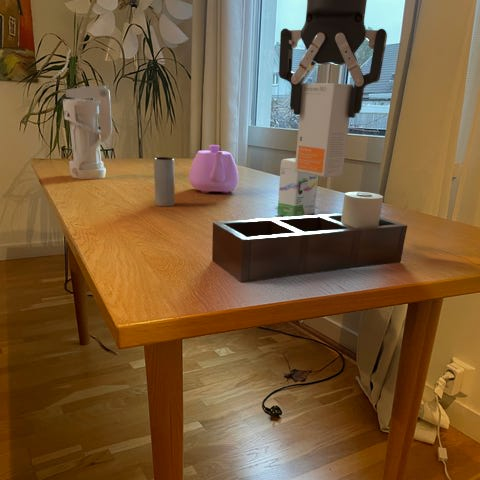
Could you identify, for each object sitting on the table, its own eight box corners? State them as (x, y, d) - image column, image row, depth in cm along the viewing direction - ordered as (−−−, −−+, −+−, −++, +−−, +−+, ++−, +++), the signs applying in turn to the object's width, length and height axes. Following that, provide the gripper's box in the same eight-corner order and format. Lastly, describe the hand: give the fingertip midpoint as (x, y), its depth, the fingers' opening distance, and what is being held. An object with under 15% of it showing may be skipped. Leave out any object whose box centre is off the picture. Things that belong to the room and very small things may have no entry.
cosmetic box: (293, 172, 71) (300, 82, 66) (312, 170, 73) (321, 84, 68) (324, 178, 67) (334, 82, 62) (343, 176, 69) (355, 84, 64)
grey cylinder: (154, 206, 109) (152, 159, 104) (156, 202, 113) (155, 156, 109) (173, 206, 109) (173, 159, 105) (175, 202, 113) (174, 157, 109)
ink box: (294, 218, 103) (299, 161, 98) (276, 214, 106) (280, 159, 101) (315, 213, 109) (321, 159, 104) (298, 209, 112) (302, 157, 107)
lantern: (68, 179, 138) (58, 83, 128) (72, 173, 148) (63, 84, 137) (114, 179, 141) (108, 85, 130) (115, 174, 150) (109, 86, 140)
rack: (359, 245, 85) (364, 211, 83) (400, 262, 77) (407, 225, 75) (211, 260, 74) (212, 222, 71) (240, 282, 65) (242, 239, 63)
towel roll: (374, 253, 81) (384, 193, 77) (371, 263, 76) (382, 199, 71) (339, 249, 83) (347, 189, 78) (334, 258, 77) (342, 195, 73)
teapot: (186, 184, 138) (186, 141, 133) (232, 185, 140) (233, 142, 135) (193, 197, 120) (193, 148, 115) (245, 198, 122) (247, 149, 117)
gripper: (276, -33, 59) (267, 113, 65) (397, -37, 54) (374, 119, 61) (291, -18, 65) (281, 113, 72) (400, -22, 61) (379, 118, 68)
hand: (324, 115), depth 67 cm, fingers closed on cosmetic box, 7 cm apart
